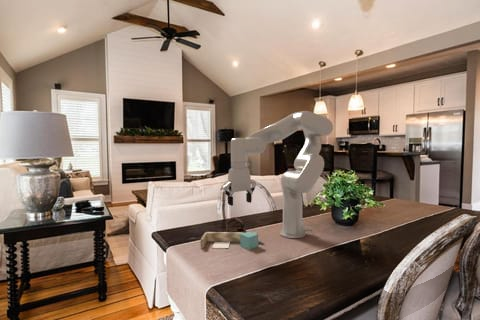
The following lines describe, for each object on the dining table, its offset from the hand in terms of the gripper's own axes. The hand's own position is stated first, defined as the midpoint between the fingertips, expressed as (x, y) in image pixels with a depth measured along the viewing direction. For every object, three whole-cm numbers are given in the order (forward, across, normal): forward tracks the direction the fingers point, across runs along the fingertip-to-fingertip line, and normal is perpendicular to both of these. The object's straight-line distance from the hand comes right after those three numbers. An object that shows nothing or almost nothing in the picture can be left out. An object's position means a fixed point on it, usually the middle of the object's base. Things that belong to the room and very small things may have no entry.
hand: (239, 203), depth 123 cm
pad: (+18, +8, -3) cm, 20 cm away
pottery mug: (+19, -8, -17) cm, 27 cm away
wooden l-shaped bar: (+18, +5, -2) cm, 19 cm away
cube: (+19, -2, +5) cm, 19 cm away
